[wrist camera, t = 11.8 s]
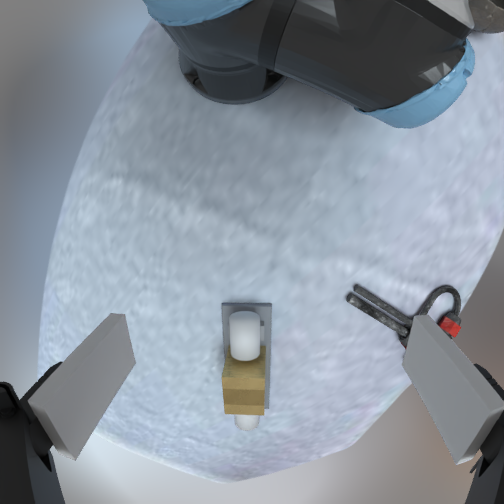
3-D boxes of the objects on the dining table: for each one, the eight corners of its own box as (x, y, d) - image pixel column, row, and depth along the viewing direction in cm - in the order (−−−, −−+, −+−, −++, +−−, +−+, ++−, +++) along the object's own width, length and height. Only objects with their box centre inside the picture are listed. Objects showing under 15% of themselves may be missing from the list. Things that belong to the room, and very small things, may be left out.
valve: (473, 309, 44) (430, 377, 45) (378, 234, 43) (326, 318, 44) (493, 319, 37) (446, 393, 39) (396, 236, 36) (337, 332, 38)
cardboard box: (265, 381, 45) (264, 415, 38) (231, 380, 46) (224, 413, 38) (265, 345, 43) (264, 378, 36) (229, 344, 44) (221, 377, 36)
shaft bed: (222, 302, 43) (215, 324, 37) (271, 303, 43) (271, 325, 36) (228, 403, 48) (224, 429, 42) (268, 404, 48) (268, 431, 42)
